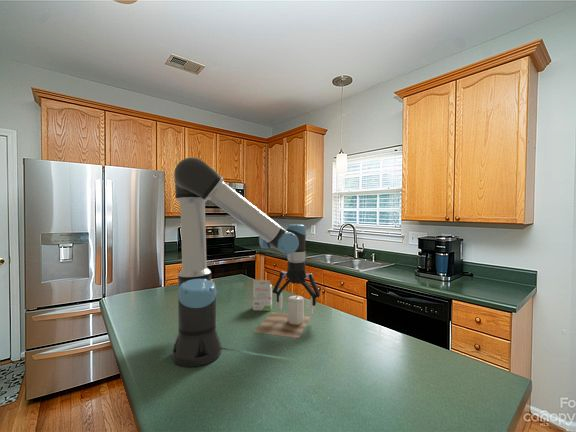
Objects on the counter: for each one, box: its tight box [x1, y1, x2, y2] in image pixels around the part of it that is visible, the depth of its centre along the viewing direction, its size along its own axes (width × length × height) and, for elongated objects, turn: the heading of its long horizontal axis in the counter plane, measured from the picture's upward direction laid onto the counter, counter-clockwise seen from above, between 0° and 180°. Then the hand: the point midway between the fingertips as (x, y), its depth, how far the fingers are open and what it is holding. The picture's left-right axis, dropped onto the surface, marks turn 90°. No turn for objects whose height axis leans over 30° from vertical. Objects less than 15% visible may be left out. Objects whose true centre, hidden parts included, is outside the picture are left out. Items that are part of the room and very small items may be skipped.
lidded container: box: [287, 294, 305, 324], centre depth 119 cm, size 6×6×10 cm
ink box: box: [252, 279, 273, 312], centre depth 133 cm, size 9×5×15 cm, turn 84°
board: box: [253, 311, 312, 339], centre depth 116 cm, size 22×18×6 cm
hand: (296, 311), depth 119 cm, fingers open, 13 cm apart
